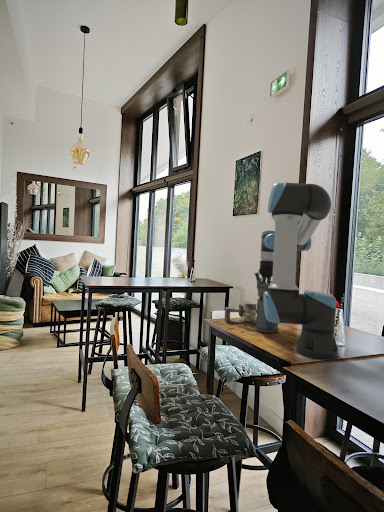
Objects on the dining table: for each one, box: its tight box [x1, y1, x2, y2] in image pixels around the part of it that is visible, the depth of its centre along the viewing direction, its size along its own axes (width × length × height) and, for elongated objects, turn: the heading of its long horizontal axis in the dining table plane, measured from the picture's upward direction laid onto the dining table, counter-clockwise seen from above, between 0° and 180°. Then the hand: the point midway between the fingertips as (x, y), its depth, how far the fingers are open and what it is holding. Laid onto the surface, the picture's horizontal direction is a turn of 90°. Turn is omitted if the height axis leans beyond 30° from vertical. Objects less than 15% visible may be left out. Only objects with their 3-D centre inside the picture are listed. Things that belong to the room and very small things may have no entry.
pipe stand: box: [223, 306, 257, 325], centre depth 180 cm, size 22×7×7 cm, turn 93°
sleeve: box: [242, 300, 257, 321], centre depth 180 cm, size 5×9×9 cm, turn 3°
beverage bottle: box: [255, 277, 279, 334], centre depth 162 cm, size 10×13×25 cm
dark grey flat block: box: [238, 303, 243, 318], centre depth 180 cm, size 1×6×6 cm, turn 3°
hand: (264, 304), depth 181 cm, fingers closed
